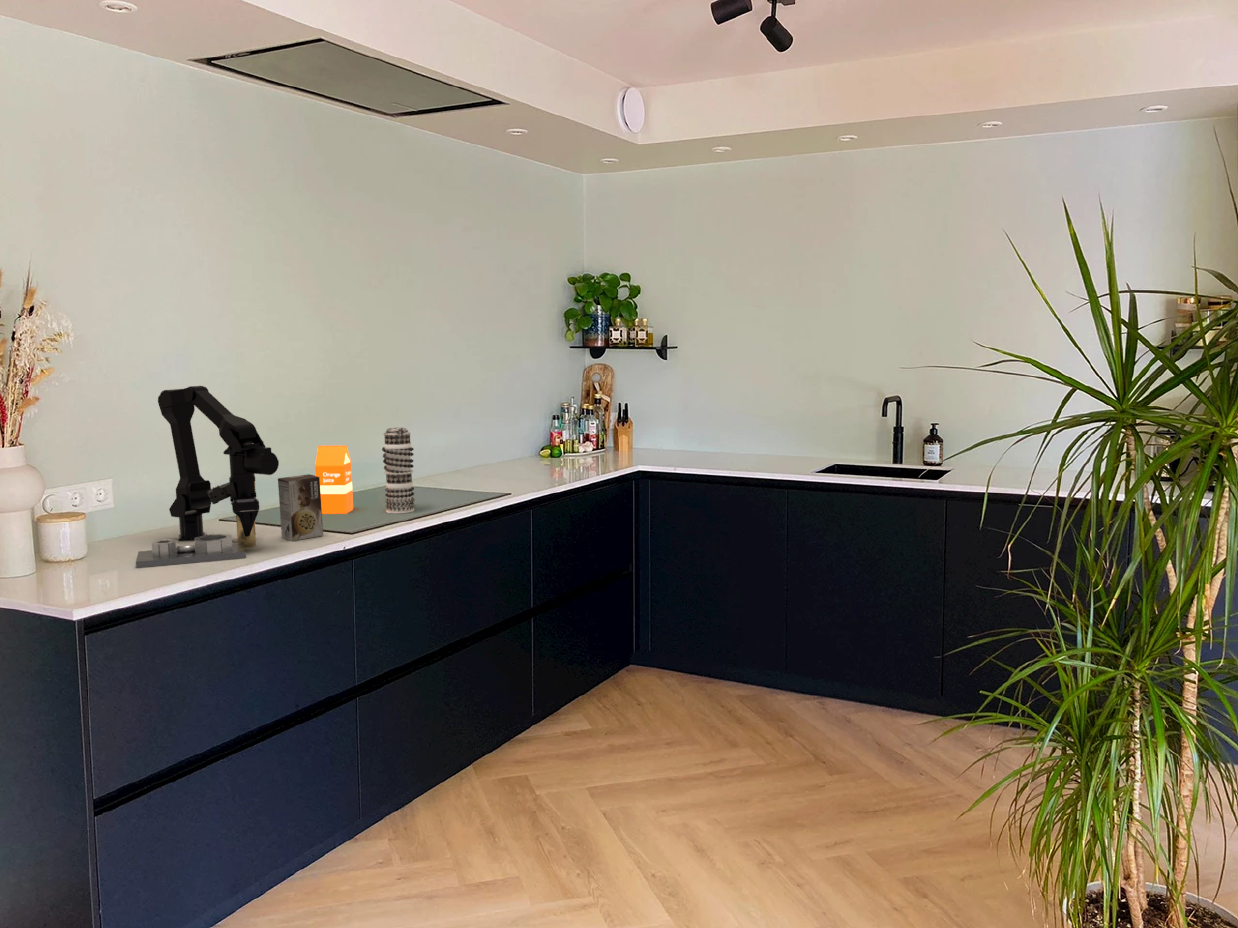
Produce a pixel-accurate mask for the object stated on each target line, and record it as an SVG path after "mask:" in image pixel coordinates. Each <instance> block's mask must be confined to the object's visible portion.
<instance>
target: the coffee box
mask: <svg viewBox="0 0 1238 928" xmlns="http://www.w3.org/2000/svg"><path fill="white" fill-rule="evenodd" d="M277 487H278V488H277V489H278V500H279V501H278V502H279V503H278V504H279V516H280V518H279V519H280V530H281V531H280V533H281V538H282V539H283V540H284V539H285V540H287V541H290V542H295V541H300V540H306V539H311V538H318V537H322V536H324V528H323V527H324V525H323V524H324V523H323V514H322V508H321V493H320V477H318V476H315V475H313V474H307V473H306V474H301V475H293V476H286V477H279V478H277Z"/></svg>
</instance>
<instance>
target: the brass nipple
mask: <svg viewBox="0 0 1238 928" xmlns="http://www.w3.org/2000/svg"><path fill="white" fill-rule="evenodd" d="M235 515H236V514H235ZM235 518H236V535H237V543H242V542H243V543H244V547H245V548H252V547H256V546H257V536H256V535H257V533H256V532H257V531H256V521H255V522H254V525H253V528H252V530H251V533H250V536H248V537H245V535H244V531H243V528H242V524H241V520H240V517H239V516H237V515H236V516H235Z"/></svg>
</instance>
